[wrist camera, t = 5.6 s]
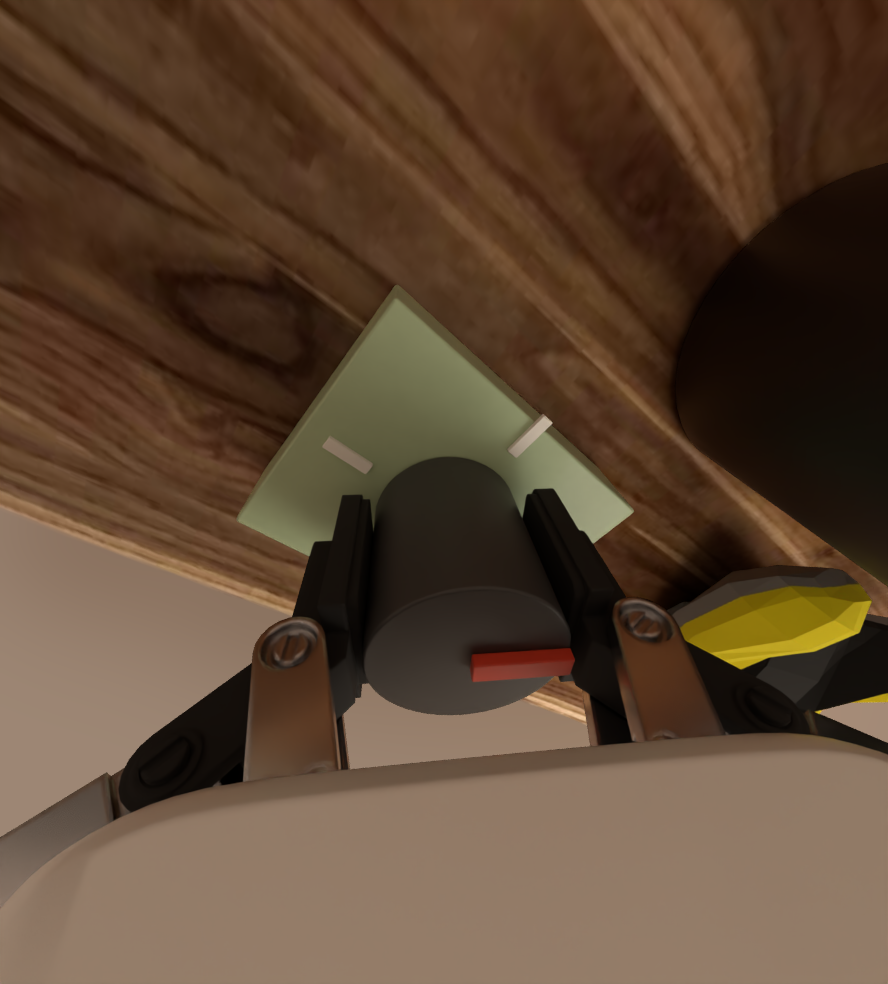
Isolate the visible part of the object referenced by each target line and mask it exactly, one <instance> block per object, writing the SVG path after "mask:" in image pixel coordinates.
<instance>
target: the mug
mask: <svg viewBox="0 0 888 984" xmlns="http://www.w3.org/2000/svg"><path fill="white" fill-rule="evenodd" d="M675 393H676V406H677V410H678V413H679V417H680V420H681V424H682V426H683V429H684V431H685V433H686V434H687V436H688V438H689V440H690V441H691V442H692V443H693V445H694V446H695V447H696V448H697V449H698V450H699V451H700V452H702V453H703V454H704V455H706V456H707V457H709V458H710V459H711V460H713V461H714V462H716V463H717V464H718V465H720V466H721V467H722V468H724V469H725V470H727V471H728V472H729V473H731V474H732V475H734V476H735V477H736V478H738V479H739V480H741V481H742V482H743V483H745V484H746V485H747V486H749V487H750V488H752V489H753V490H754V491H756V492H757V493H759V494H760V495H761V496H763V497H764V498H766V499H767V500H768V501H770V502H771V503H772V504H774V505H775V506H777V507H778V508H779V509H781V510H782V511H784V512H785V513H786V514H788V515H789V516H791V517H792V518H793V519H795V520H796V521H797V522H799V523H800V524H802V525H803V526H804V527H806V528H807V529H809V530H810V531H811V532H813V533H814V534H816V535H817V536H818V537H820V538H821V539H822V540H824V541H825V542H827V543H828V544H829V545H831V546H832V547H834V548H835V549H836V550H838V551H839V552H841V553H842V554H843V555H845V556H846V557H847V558H849V559H850V560H852V561H853V562H854V563H856V564H857V565H859V566H860V567H861V568H863V569H864V570H866V571H867V572H868V573H870V574H871V575H872V576H874V577H875V578H877V579H878V580H879V581H881V582H882V583H884V584H885V585H886V586H888V163H885V164H882V165H878V166H875V167H871V168H868V169H864V170H861V171H859V172H856V173H853V174H851V175H849V176H846V177H844V178H842V179H840V180H838V181H835V182H833V183H831V184H829V185H827V186H825V187H824V188H822V189H821V190H819V191H817V192H816V193H814V194H812V195H811V196H809V197H808V198H806V199H804V200H803V201H801V202H799V203H798V204H796V205H795V206H793V207H792V208H790V209H789V210H787V211H786V212H785V213H783V214H782V215H781V216H780V217H778V218H777V219H776V220H774V221H773V222H772V223H771V224H769V225H768V226H767V227H766V228H764V229H763V230H762V231H761V232H760V233H759V234H758V235H757V236H756V237H755V238H754V239H753V240H752V241H751V242H750V243H749V244H748V245H747V246H746V247H745V248H744V249H743V250H742V251H741V252H740V253H739V254H738V255H737V257H736V258H735V259H734V260H733V261H732V262H731V264H730V265H729V266H728V267H727V268H726V270H725V271H724V272H723V273H722V274H721V276H720V277H719V279H718V280H717V282H716V283H715V285H714V286H713V288H712V289H711V290H710V292H709V293H708V295H707V296H706V298H705V300H704V301H703V303H702V305H701V307H700V309H699V311H698V312H697V314H696V316H695V318H694V320H693V322H692V324H691V326H690V329H689V331H688V334H687V336H686V339H685V342H684V344H683V348H682V351H681V355H680V359H679V363H678V366H677V375H676V384H675Z"/></svg>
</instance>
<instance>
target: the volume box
mask: <svg viewBox="0 0 888 984" xmlns="http://www.w3.org/2000/svg"><path fill="white" fill-rule="evenodd" d="M551 424H552V422H551V420H549V419H548V418H547V417H546V416H545V415H544V414H542V415H540V414H539V413H538V412H537V411H536V410H535V409H533V408H532V407H531V406H530V405H529V404H528V403H527V402H526V401H525V400H524V399H522V398H521V397H520V396H519V395H518V394H517V393H516V392H515V391H514V390H513V389H512V388H510V387H509V386H508V385H507V384H506V383H505V382H504V381H503V380H502V379H501V378H500V377H498V376H497V375H496V374H495V373H494V372H493V371H492V370H491V369H490V368H489V367H488V366H486V365H485V364H484V363H483V362H482V361H481V360H480V359H479V358H478V357H477V356H476V355H474V354H473V353H472V352H471V351H470V350H469V349H468V348H467V347H466V346H465V345H464V344H462V343H461V342H460V341H459V340H458V339H457V338H456V337H455V336H454V335H453V334H452V333H450V332H449V331H448V330H447V329H446V328H445V327H444V326H443V325H442V324H441V323H440V322H438V321H437V320H436V319H435V318H434V317H433V316H432V315H431V314H430V313H429V312H427V311H426V310H425V309H424V308H423V307H422V306H421V305H420V304H419V303H418V302H417V301H415V300H414V299H413V298H412V297H411V296H410V295H409V294H408V293H407V292H406V291H405V290H403V289H402V288H401V287H400V286H399V285H395V286H394V288H393V289H392V290H391V292H390V293H389V295H388V296H387V297H386V299H385V300H384V302H383V303H382V305H381V306H380V307H379V309H378V310H377V312H376V313H375V314H374V316H373V317H372V319H371V320H370V322H369V323H368V324H367V326H366V327H365V329H364V330H363V331H362V333H361V334H360V336H359V337H358V338H357V340H356V341H355V343H354V344H353V346H352V347H351V348H350V350H349V351H348V353H347V354H346V355H345V357H344V358H343V360H342V361H341V363H340V364H339V365H338V367H337V368H336V370H335V371H334V372H333V374H332V375H331V377H330V378H329V380H328V381H327V382H326V384H325V385H324V387H323V388H322V389H321V391H320V392H319V394H318V395H317V397H316V398H315V399H314V401H313V402H312V404H311V405H310V406H309V408H308V409H307V411H306V412H305V413H304V415H303V416H302V418H301V419H300V421H299V422H298V423H297V425H296V426H295V428H294V429H293V430H292V432H291V433H290V435H289V436H288V438H287V439H286V440H285V442H284V443H283V445H282V446H281V447H280V449H279V450H278V452H277V453H276V455H275V456H274V457H273V459H272V460H271V462H270V463H269V464H268V466H267V467H266V469H265V470H264V472H263V473H262V475H261V477H260V479H259V480H258V482H257V484H256V485H255V487H254V489H253V490H252V492H251V494H250V496H249V497H248V499H247V501H246V502H245V504H244V506H243V508H242V509H241V511H240V513H239V514H238V516H237V521H238V522H240V523H242V524H244V525H246V526H248V527H250V528H252V529H254V530H256V531H258V532H260V533H262V534H264V535H266V536H268V537H270V538H272V539H274V540H276V541H278V542H281V543H283V544H285V545H287V546H289V547H291V548H293V549H295V550H297V551H299V552H301V553H303V554H305V555H307V556H310V553H311V549H312V546H313V544H314V542H315V541H332V538H333V534H334V529H335V525H336V520H337V516H338V511H339V507H340V503H341V498H342V495H358V494H362V495H363V499H370V503H371V513H372V523H373V532H374V521H375V512H376V506H377V503H378V500H379V498H380V496H381V494H382V492H383V490H384V489H385V488H386V486H387V485H388V484H389V483H390V482H391V480H392V479H393V478H394V477H396V476H397V475H398V474H399V473H401V472H402V471H404V470H405V469H407V468H409V467H410V466H412V465H415V464H417V463H419V462H422V461H425V460H429V459H434V458H440V457H459V458H465V459H470V460H473V461H477V462H479V463H481V464H484V465H486V466H487V467H489V468H491V469H492V470H494V471H495V472H496V473H497V474H499V475H500V476H501V477H502V479H503V480H504V481H505V482H506V484H507V485H508V487H509V488H510V491H511V493H512V495H513V498H514V500H515V502H516V505H517V507H518V509H519V512H520V514H521V516H522V518H523V512H524V506H525V500H526V496H527V494H532V492H533V490H534V489H547V488H553V489H554V490H555V491H556V493H557V494H558V496H559V498H560V499H561V501H562V503H563V504H564V506H565V508H566V509H567V511H568V513H569V514H570V516H571V518H572V519H573V521H574V522H575V524H576V526H577V527H578V529H579V530H582V531H584V532H585V533H586V534H587V535H588V537H589V538H590V540H591V542H592V543H595V542H596V541H597V540H598V539H600V538H601V537H602V536H604V535H605V534H606V533H608V532H609V531H610V530H611V529H613V528H614V527H615V526H617V525H618V524H619V523H620V522H622V521H623V520H624V519H626V518H627V517H628V516H630V515H631V514H632V513H633V512H634V510H633V508H632V507H631V506H630V505H629V504H628V502H627V501H626V500H625V499H624V498H623V497H622V495H621V494H620V493H619V492H618V491H617V490H616V488H615V487H614V486H613V485H612V484H611V482H610V481H609V480H608V479H607V478H606V477H605V475H604V474H603V473H602V472H601V471H600V470H599V468H598V467H597V466H596V465H595V464H593V463H592V462H591V461H590V460H589V459H588V458H587V457H586V456H585V455H584V454H583V453H581V452H580V451H579V450H578V449H577V448H576V447H575V446H574V445H573V444H572V443H571V442H569V441H568V440H567V439H566V438H565V437H564V436H563V435H562V434H561V433H560V432H559V431H557V430H556V429H555V428H554V427H553V426H552V425H551Z"/></svg>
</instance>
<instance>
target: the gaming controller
mask: <svg viewBox="0 0 888 984" xmlns="http://www.w3.org/2000/svg"><path fill="white" fill-rule="evenodd" d="M871 602H872V600H871V599H870V597H869V596H868V595H867V593H866V592H865V591H864V589H863V588H862V586H861V585H860V584H859V583H858V582H857V581H855V580H854V579H853V578H852V577H850V576H849V575H848V574H847V573H845V572H844V571H843V570H839V569H833V568H818V567H801V566H783V565H776V566H769V567H761V568H754V569H747V570H740V571H733V572H731V573H729V574H728V575H727V576H725V577H724V578H723V579H721V580H720V581H718V582H717V583H716V584H714V585H713V586H712V587H710V588H709V589H708V590H706V591H705V592H703V593H702V594H701V595H699V596H698V597H697V598H695V599H694V600H692V601H691V602H682V603H680V604H678V605H676V606H674V607H672V608H670V609H668V610H667V611H668V612H669V613H670V614H671V615H672V616H673V617H674V619H675V620H676V622H677V623H678V625H679V627H680V629H681V632H682V634H683V636H684V639H685V641H687V642H689V643H691V644H693V645H695V646H697V647H699V648H701V649H703V650H705V651H706V652H708V653H710V654H712V655H714V656H716V657H718V658H720V659H722V660H724V661H726V662H728V663H730V664H732V665H733V666H735V667H737V668H739V669H741V670H743V671H745V672H747V673H749V674H751V675H753V676H755V677H757V678H759V679H760V680H762V681H764V682H766V683H768V684H770V685H772V686H773V687H775V688H776V689H778V690H780V691H781V692H783V693H784V694H785V695H786V696H787V697H788V698H790V699H791V700H792V701H793V702H794V703H795V704H796V706H797V707H798V708H799V709H800V710H801V711H802V713H805V712H806V711H807V710H808V709H809V710H811V711H814V712H816V713H818V714H820V712H821V711H822V710H824V709H828V708H832V707H835V706H840V705H844V704H847V703H856V702H857V703H858V702H888V618H887V617H881V616H876V615H871V614H867V612H868V609H869V607H870V604H871Z"/></svg>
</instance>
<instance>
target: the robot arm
mask: <svg viewBox="0 0 888 984" xmlns="http://www.w3.org/2000/svg"><path fill="white" fill-rule="evenodd" d="M523 521H524V523H525V525H526V528H527V530H528V532H529V535H530V537H531V539H532V542H533V544H534V546H535V549H536V551H537V553H538V556H539V558H540V560H541V563H542V565H543V567H544V570H545V572H546V574H547V577H548V579H549V581H550V584H551V586H552V588H553V591H554V593H555V595H556V598H557V600H558V602H559V605H560V607H561V609H562V612H563V614H564V616H565V619H566V621H567V623H568V625H569V629H570V634H571V644H570V649H571V651H572V653H573V656H574V658H575V662H574V664H573V667H572V670H571V673H570V675H563V676H558V677H559V680H560V682H565V681H574V682H575V685H576V686H578V687H579V688H581V689H582V695H583V702H584V708H585V714H586V721H587V727H588V733H589V740H590V746H589V747H579V748H568V749H557V750H547V751H536V752H526V753H525V752H524V753H515V754H504V755H493V756H483V757H472V758H462V759H451V760H441V761H431V762H420V763H410V764H400V765H390V766H381V767H371V768H360V769H351V770H350V766H349V757H348V750H347V741H346V733H345V724H344V717H343V714H344V713H345V712H346V711H347V710H348V709H349V708H350V707H351V706H352V705H353V704H354V703H355V698H360V697H361V688H362V684H366V683H368V681H367V679H366V677H365V674H364V671H363V667H362V650H363V639H364V628H365V618H366V607H367V596H368V585H369V575H370V564H371V553H372V543H373V523H372V513H371V503H370V499H363V495H362V494H358V495H342V498H341V503H340V507H339V511H338V516H337V520H336V525H335V529H334V534H333V538H332V541H315V542H314V544H313V546H312V549H311V553H310V556H309V560H308V563H307V567H306V570H305V574H304V577H303V581H302V584H301V588H300V591H299V595H298V598H297V602H296V605H295V609H294V612H293V616H292V617H291V618H287V619H284V620H281V621H279V622H277V623H275V624H274V625H272V626H271V627H269V628H268V629H267V630H266V631H265V632H264V633H263V634H262V635H261V636H260V638H259V639H258V641H257V642H256V644H255V647H254V651H253V656H252V663H251V664H250V665H249V666H247V667H246V668H244V669H243V670H242V671H240V672H239V673H237V674H236V675H235V676H233V677H232V678H231V679H229V680H228V681H226V682H225V683H224V684H222V685H221V686H220V687H218V688H217V689H216V690H214V691H213V692H211V693H210V694H209V695H207V696H206V697H205V698H203V699H202V700H200V701H199V702H198V703H196V704H195V705H193V706H192V707H191V708H189V709H188V710H187V711H185V712H184V713H182V714H181V715H180V716H178V717H177V718H176V719H174V720H173V721H171V722H170V723H169V724H167V725H166V726H164V727H163V728H162V729H160V730H159V731H158V732H156V733H155V734H153V735H152V736H151V737H150V738H149V739H148V740H146V742H144V743H143V744H142V745H141V746H140V747H139V748H138V749H137V750H136V752H135V753H134V754H133V755H132V757H131V758H130V759H129V761H128V763H127V765H126V766H125V768H124V769H122V770H121V771H119V772H117V773H116V774H114V775H112V776H110V775H109V774H108V773H105V774H103V775H101V776H100V777H98V778H97V779H95V780H93V781H92V782H90V783H89V784H87V785H85V786H84V787H82V788H80V789H79V790H77V791H75V792H74V793H72V794H70V795H69V796H67V797H65V798H64V799H62V800H61V801H59V802H57V803H56V804H54V805H53V806H51V807H49V808H47V809H46V810H44V811H42V812H41V813H39V814H38V815H36V816H35V817H33V818H31V819H29V820H28V821H26V822H24V823H23V824H21V825H20V826H18V827H17V828H15V829H13V830H11V831H10V832H8V833H7V834H5V835H3V836H2V837H0V984H888V743H887V742H884V741H882V740H879V739H877V738H875V737H872V736H870V735H868V734H865V733H863V732H861V731H858V730H856V729H853V728H851V727H849V726H846V725H844V724H842V723H840V722H837V721H835V720H833V719H830V718H827V717H825V716H823V715H821V714H818V713H816V712H814V711H811V710H809V709H808V710H807V711H806V712H805V713H802V711H801V710H800V709H799V708H798V707H797V706H796V704H795V703H794V702H793V701H792V700H791V699H790V698H788V697H787V696H786V695H785V694H784V693H783V692H781V691H780V690H778V689H776V688H775V687H773V686H772V685H770V684H768V683H766V682H764V681H762V680H760V679H759V678H757V677H755V676H753V675H751V674H749V673H747V672H745V671H743V670H741V669H739V668H737V667H735V666H733V665H732V664H730V663H728V662H726V661H724V660H722V659H720V658H718V657H716V656H714V655H712V654H710V653H708V652H706V651H705V650H703V649H701V648H699V647H697V646H695V645H693V644H691V643H689V642H687V641H685V639H684V636H683V634H682V632H681V629H680V627H679V625H678V623H677V622H676V620H675V619H674V617H673V616H672V615H671V614H670V613H669V612H668V611H667V610H666V609H664V608H663V607H661V606H660V605H658V604H656V603H654V602H652V601H650V600H647V599H643V598H639V597H627V598H626V596H625V595H624V593H623V591H622V590H621V588H620V587H619V585H618V583H617V582H616V580H615V579H614V577H613V575H612V574H611V572H610V571H609V569H608V567H607V566H606V564H605V563H604V561H603V559H602V558H601V556H600V554H599V553H598V551H597V550H596V548H595V546H594V545H593V543H592V542H591V540H590V538H589V537H588V535H587V534H586V533H585V532H584V531H582V530H579V529H578V527H577V526H576V524H575V522H574V521H573V519H572V518H571V516H570V514H569V513H568V511H567V509H566V508H565V506H564V504H563V503H562V501H561V499H560V498H559V496H558V494H557V493H556V491H555V490H554V489H553V488H547V489H534V490H533V492H532V494H527V496H526V500H525V506H524V512H523Z"/></svg>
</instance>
